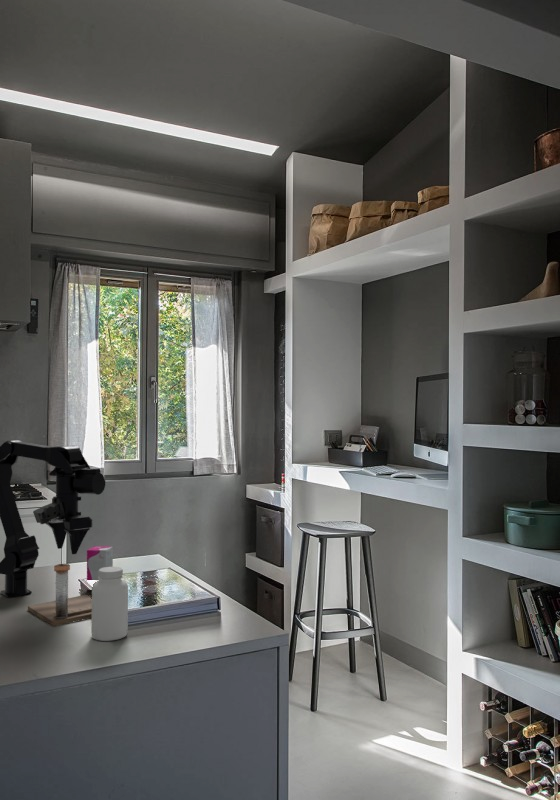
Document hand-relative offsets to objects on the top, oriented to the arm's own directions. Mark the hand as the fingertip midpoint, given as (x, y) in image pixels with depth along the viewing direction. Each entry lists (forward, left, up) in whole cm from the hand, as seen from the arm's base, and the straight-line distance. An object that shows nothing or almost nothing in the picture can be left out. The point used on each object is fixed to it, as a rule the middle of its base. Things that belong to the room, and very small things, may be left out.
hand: (66, 551), depth 176 cm
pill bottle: (+33, -4, -13) cm, 36 cm away
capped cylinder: (+16, -8, -13) cm, 22 cm away
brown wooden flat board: (+10, -3, -13) cm, 17 cm away
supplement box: (-5, +12, -13) cm, 19 cm away
